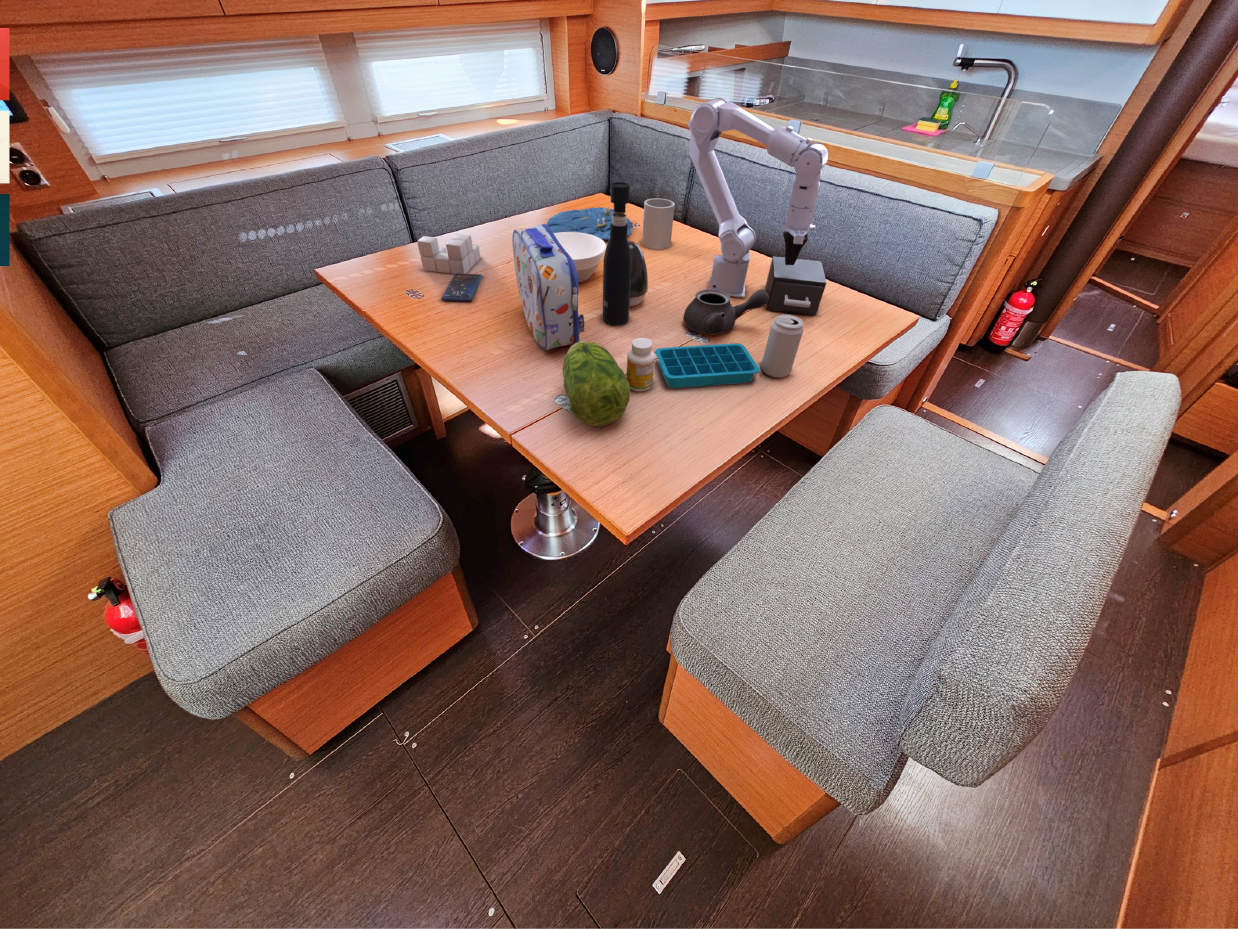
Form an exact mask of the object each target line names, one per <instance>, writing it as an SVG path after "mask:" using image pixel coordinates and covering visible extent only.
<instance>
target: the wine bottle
mask: <svg viewBox="0 0 1238 929" xmlns="http://www.w3.org/2000/svg"><path fill="white" fill-rule="evenodd" d="M630 188H631V186H630V183H627V182H624V181H615V182H612V183H611V184H610V203H612V204H613V212H614V214H612V217H611V218H612V220H611V221H612V223H611V224H610V238H609V239H608V241H607V244H606V250H605V253H604V255H603V259H602V260H603V265H602V267H603V269H602V317H601V318H602V321H603V323H605V324H606V325H609V326H614V327H617V326H619V327H620V326H624V325H626V324H627V323H628V322H629V320H630V306H629V304H630V286H631V268H632V258H631V251H630V247H629V243H628V241H629V240H628V236H627V230H628V225H627V223H626V222H627V220H626V219H628V216H627V214H626V212H627V209H626V208H627V206H626V205H628V204H629V203H630V192H631V190H630Z"/></svg>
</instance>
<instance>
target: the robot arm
mask: <svg viewBox="0 0 1238 929" xmlns="http://www.w3.org/2000/svg"><path fill="white" fill-rule="evenodd" d="M687 126H688V130H689V155H690V158H691V161H692V163H693V165H694V169H695V170H696V173H697V175H698V178H699V180H700V183H701V184H702V187H703V189H704V192H705V195H706V197H707V200H708V202H709V204H710V206H711V209H712V211H713V214H714V216H715V218H716V221H717V223H718V225H719V228H718V239H719V242H720V253H721V254H718V255H714V256H713V262H712V269H711V274H710V276H709V278H708V279H709V280H708V284H709V286H708V287H709V288H708V289H715V290H720V291H723V292H725V293H727V294H728V295H729V296H730V297H732V298H733V297H734V298H741V299H743V298H745V292H746V290H745V289H746V284H745V283H746V279H747V274H748V269H749V264H750V260H751V255H750V254H751V253H750V250H752V249H753V248H754V246H755V244H756V241H757V235H756V232H755V231H754V229H753V228H751V227H750V225H749V224H748V222H747V220H746V218H744V216H742V215H741V214H740V213H739V209H738V207H737V205H736V203H735V200H734V197H733V196H732V193H731V190H730V188H729V185H728V183H727V180H726V178H725V175H724V172H723V170H722V167H721V166H720V162H719V160H718V157H717V155H716V153H715V149H716V146H717V144H718V141H719V138H720V136H721V134H722V133H723V132H726V131H737V132H739V133H741V134H743V135H745V136H747V137H748V138H751V139H753V140H755V141H757V142H759V143H761V144H764V145H765V147H766V151H767V154H768V155H770V156H771V157H773V158H775V159H777V160H778V161H780V162H782V163H784V164H785V165H787V166H789V167H790V168H794V171H795V178H794V182H793V183H792V190H791V195H790V200H789V204H788V209H787V214H786V219H785V223H784V224H783V225H784V226H783V229H784V230H785V231H784V232H783V233H782V235H783V240H784V257H785V265H794V264H795V262H796V260H797V259H798V258H799V255H800V253H801V251H802V250H803V247H804V246H805V245H806V244H807V243H808V241H809V237H808V236H809V235H808V233H809V232H810V231H816V225H815V224H812V220H813V217H814V212H815V207H816V205H817V204H816V203H817V199H818V195H819V190H820V186H821V179H822V174H823V171H822V170H823V169H824V167H825V166H826V165H827V162H828V159H829V152H828V149H827V147H826V146H825V145H823V143H822V142H821V141H814V142H813V139H812V138H811V137H807V138H805V137H803V136H801V135H800V134H798V133H797V132H795V131H794V127H793V126H791V125H787V126H786V127H785V126H784V125H782V126H779V127H776V128H773V127H772V126H770V125H769V124H767V123H765V121H763V120H761V119H759V118H758V117H756V116H755V115H753V114H752V113H750V112H748V111H747V110H745V109H743V108H742V107H740V106H739V105H738V104H736V103H735V102H732V101H727V99H725V98H722V97H715V98H713V99H711V100H709V101H707V102H701V103H699V104H698V105H696V106H695V107H694V109H693V111H692V113H691V116H690V118H689V121H688V124H687Z"/></svg>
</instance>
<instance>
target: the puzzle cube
mask: <svg viewBox="0 0 1238 929" xmlns="http://www.w3.org/2000/svg"><path fill="white" fill-rule="evenodd" d="M416 243H417V247H418V251H419V256H420V260H421V265H422V268H423V271H424V272H425V271H426V272H434V273H435V272H436V273H437V272H438V273H444V274H452V275H454V274H468V272H469V271H470V270H471V269H472V268H473V267H474V266H475V265H476V264H477V263H478V262H479V261H480V260H481V258H482V257H481V251H480V245H479V244H473V238H472V235H471V234H464V233H463V234H462V233H457V234H456V235H455V236H454V237H453V238H451V239H450V240H449V241H448V242H447V243H446V244H445V246H439V243H438V238H437V237H436V236H435V237H434V236H426V235H423V236H421V237H420V238H419V239H418V240H417V241H416Z"/></svg>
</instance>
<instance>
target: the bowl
mask: <svg viewBox="0 0 1238 929" xmlns="http://www.w3.org/2000/svg"><path fill="white" fill-rule="evenodd" d="M554 235H555V236H556V238H557V240H558V241H559V243H560V244H561V246H562V247H563V248H564V249H565V251H566V252H567V253H568V254H569V255H570V257H571V258H572V259H573V261H574V263H575V266H576V270H577V272H578V283H582V282H586V281H587V280H588V279H589V278H591V276H592V275H593V274H594V273H595V272H596V270H597V268H598V267H599V266H600V264H601V263H602V260H603V259H604V254H605V250H606V247H607V244H606V242H605V241H604V239H600V238H598V237H596V236H593V235H590V234H585V233H578V232H563V231H561V232H559V233H554Z"/></svg>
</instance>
